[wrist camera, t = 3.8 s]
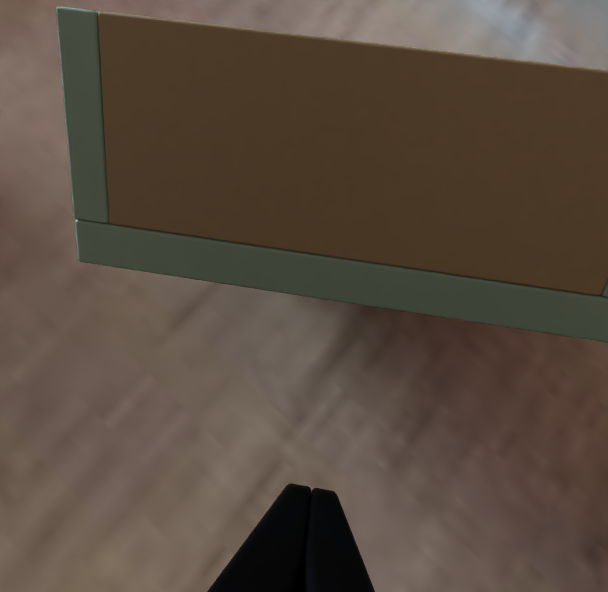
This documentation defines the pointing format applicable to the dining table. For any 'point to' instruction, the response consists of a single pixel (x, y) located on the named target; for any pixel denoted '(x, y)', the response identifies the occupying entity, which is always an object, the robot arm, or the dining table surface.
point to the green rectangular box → (340, 169)
